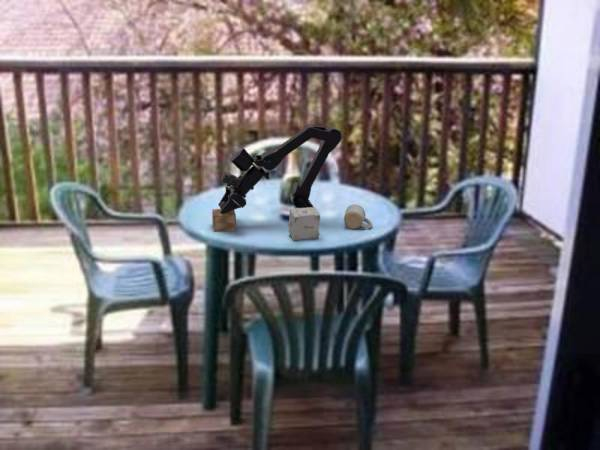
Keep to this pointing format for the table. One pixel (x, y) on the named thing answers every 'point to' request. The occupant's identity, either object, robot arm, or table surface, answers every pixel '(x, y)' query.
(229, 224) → the wooden box
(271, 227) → the table surface
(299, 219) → the beige cardboard box
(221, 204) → the black ball knob
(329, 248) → the table surface
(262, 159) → the robot arm
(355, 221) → the ceramic mug
